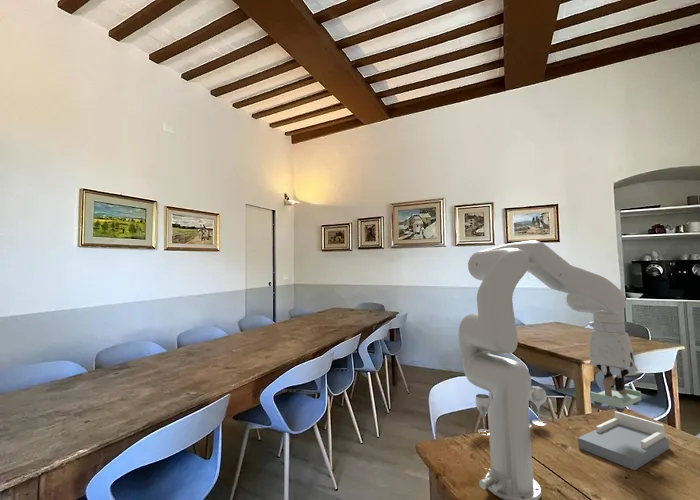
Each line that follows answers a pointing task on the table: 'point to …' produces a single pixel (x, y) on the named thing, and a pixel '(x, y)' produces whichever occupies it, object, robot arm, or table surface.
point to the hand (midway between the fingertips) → (615, 388)
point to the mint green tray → (615, 395)
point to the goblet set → (535, 396)
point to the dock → (626, 440)
